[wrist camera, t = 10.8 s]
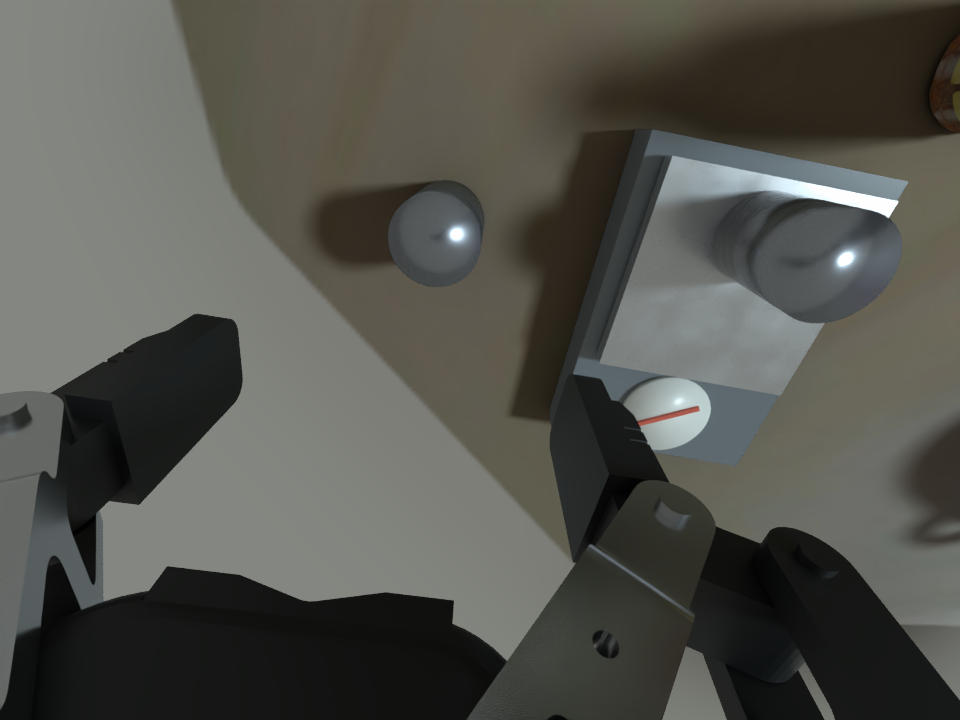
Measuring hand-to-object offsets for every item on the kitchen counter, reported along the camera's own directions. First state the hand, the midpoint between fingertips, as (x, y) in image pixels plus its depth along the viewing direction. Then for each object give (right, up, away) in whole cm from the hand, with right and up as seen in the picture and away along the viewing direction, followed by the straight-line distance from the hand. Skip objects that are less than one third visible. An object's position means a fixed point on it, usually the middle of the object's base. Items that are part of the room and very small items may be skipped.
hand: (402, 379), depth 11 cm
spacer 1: (0, +9, +17) cm, 19 cm away
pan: (+16, +5, +15) cm, 23 cm away
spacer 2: (+17, +7, +13) cm, 22 cm away
